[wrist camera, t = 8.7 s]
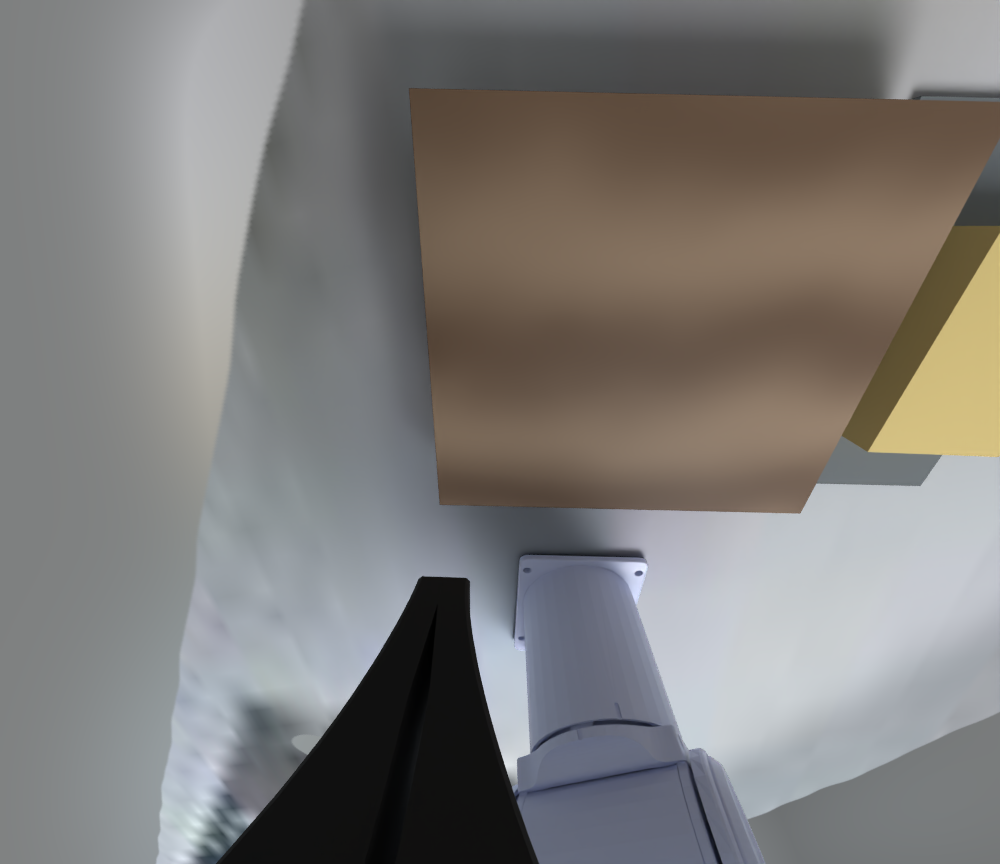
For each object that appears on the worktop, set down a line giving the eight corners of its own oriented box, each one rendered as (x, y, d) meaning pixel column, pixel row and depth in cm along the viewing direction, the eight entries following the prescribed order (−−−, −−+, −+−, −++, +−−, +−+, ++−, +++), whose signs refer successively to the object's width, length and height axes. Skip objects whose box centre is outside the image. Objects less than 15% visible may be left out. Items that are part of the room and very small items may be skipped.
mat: (915, 482, 20) (920, 485, 20) (751, 478, 20) (754, 482, 20) (1175, 104, 13) (1189, 102, 13) (913, 98, 13) (921, 96, 13)
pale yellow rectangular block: (867, 452, 17) (833, 430, 19) (998, 456, 17) (952, 435, 19) (1003, 226, 13) (943, 225, 14) (1179, 232, 13) (1097, 232, 14)
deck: (748, 463, 20) (800, 513, 17) (451, 456, 20) (439, 504, 17) (882, 135, 13) (1018, 102, 10) (434, 125, 13) (408, 87, 10)
